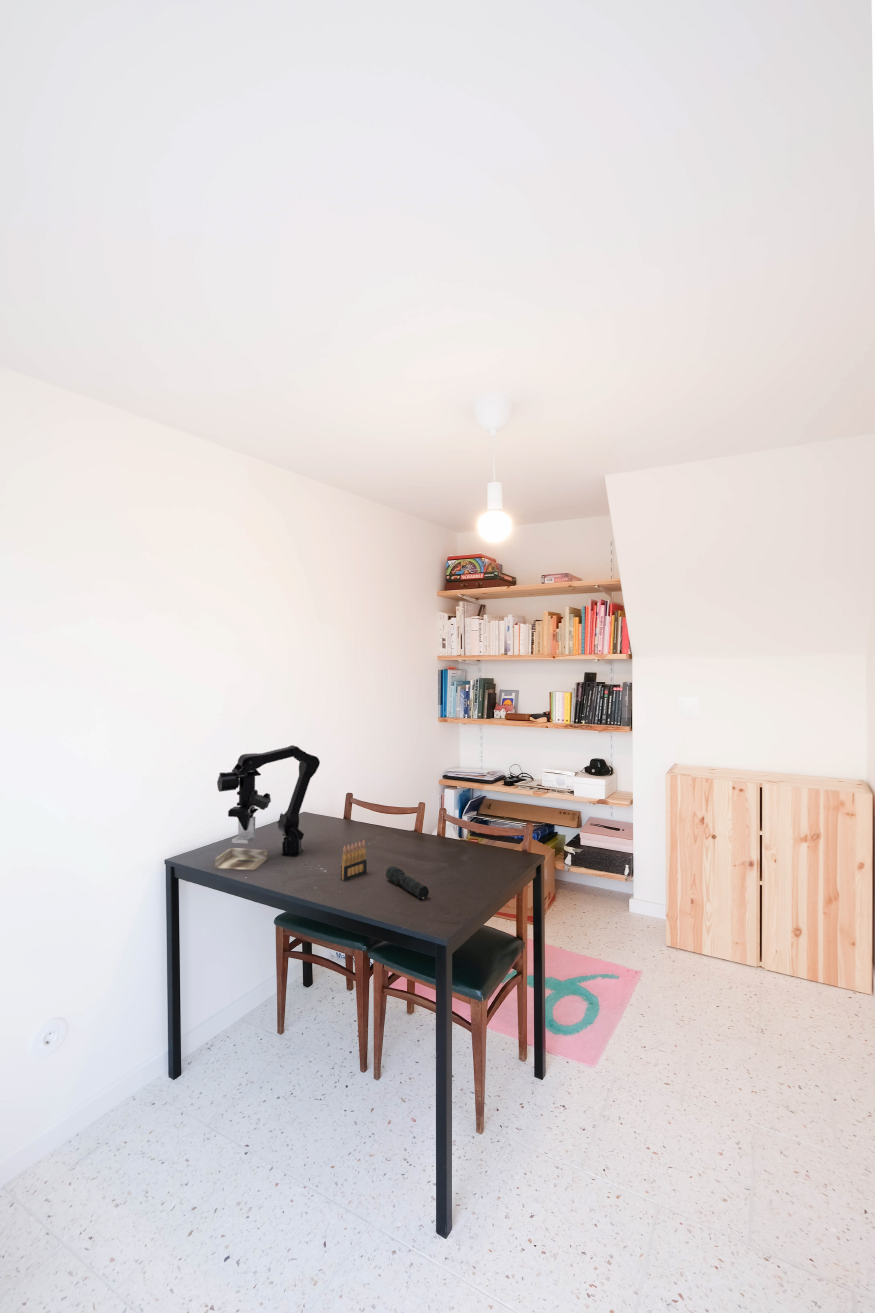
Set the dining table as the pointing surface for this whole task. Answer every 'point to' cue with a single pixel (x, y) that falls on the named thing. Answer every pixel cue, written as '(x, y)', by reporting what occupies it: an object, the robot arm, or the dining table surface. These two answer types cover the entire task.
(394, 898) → the dining table surface
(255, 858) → the tray
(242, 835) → the bracket
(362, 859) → the ammunition clip
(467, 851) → the dining table surface
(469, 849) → the dining table surface
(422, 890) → the flashlight
